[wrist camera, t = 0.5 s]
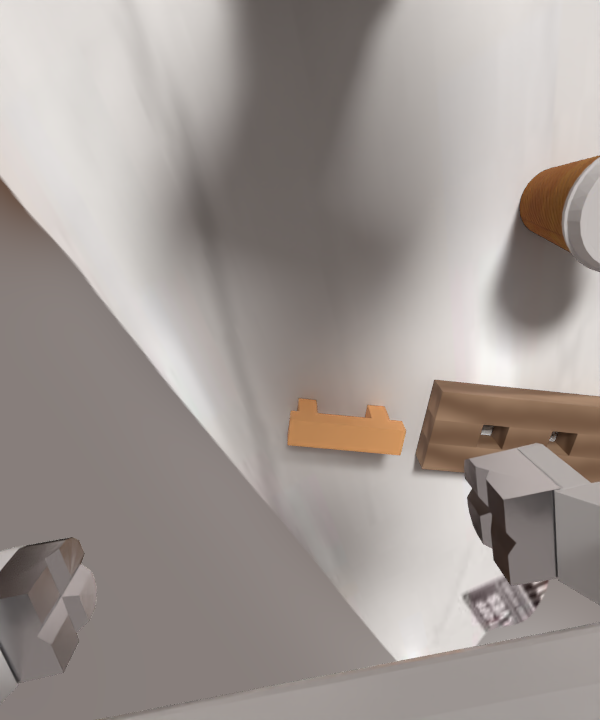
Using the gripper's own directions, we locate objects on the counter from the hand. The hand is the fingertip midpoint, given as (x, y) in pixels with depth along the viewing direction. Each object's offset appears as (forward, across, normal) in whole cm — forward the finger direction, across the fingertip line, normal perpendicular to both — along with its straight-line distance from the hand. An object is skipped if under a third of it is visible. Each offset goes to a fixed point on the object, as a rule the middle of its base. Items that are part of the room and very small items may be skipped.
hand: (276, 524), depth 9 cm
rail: (+40, -24, +22) cm, 52 cm away
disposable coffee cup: (+38, -28, -3) cm, 47 cm away
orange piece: (+40, -4, +15) cm, 43 cm away
